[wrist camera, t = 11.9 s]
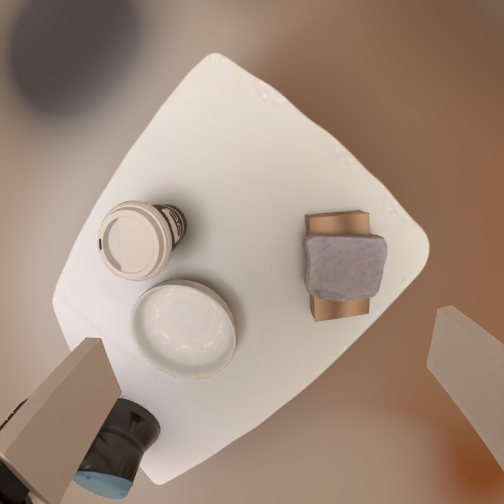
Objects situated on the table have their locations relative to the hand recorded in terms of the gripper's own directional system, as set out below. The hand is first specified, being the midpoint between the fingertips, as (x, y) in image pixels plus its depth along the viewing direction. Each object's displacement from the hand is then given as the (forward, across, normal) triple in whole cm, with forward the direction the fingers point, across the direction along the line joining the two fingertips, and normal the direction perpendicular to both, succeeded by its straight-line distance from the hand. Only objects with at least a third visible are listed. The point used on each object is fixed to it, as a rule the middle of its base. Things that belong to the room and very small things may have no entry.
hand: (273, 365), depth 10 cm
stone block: (+31, +11, -6) cm, 34 cm away
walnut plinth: (+35, +12, -7) cm, 37 cm away
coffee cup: (+35, -15, +2) cm, 38 cm away
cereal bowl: (+35, -13, -14) cm, 40 cm away
